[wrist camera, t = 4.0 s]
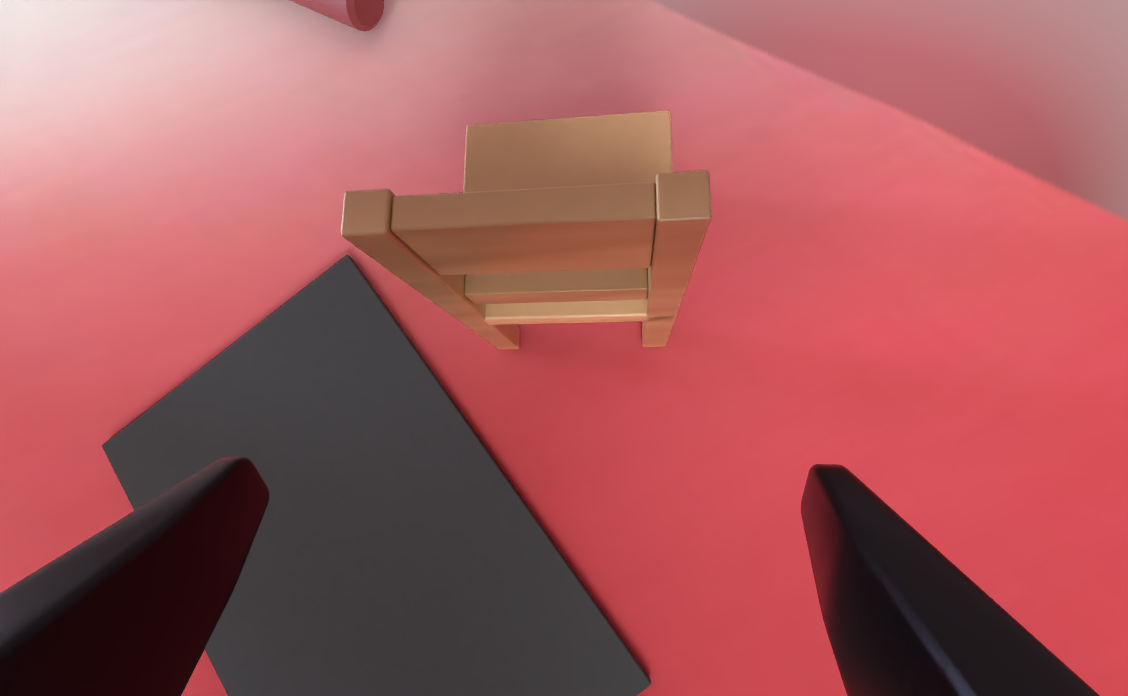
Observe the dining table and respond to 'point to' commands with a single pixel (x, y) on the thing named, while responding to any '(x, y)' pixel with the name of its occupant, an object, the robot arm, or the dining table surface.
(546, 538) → the mat
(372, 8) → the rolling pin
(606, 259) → the toy chair
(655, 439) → the dining table surface
